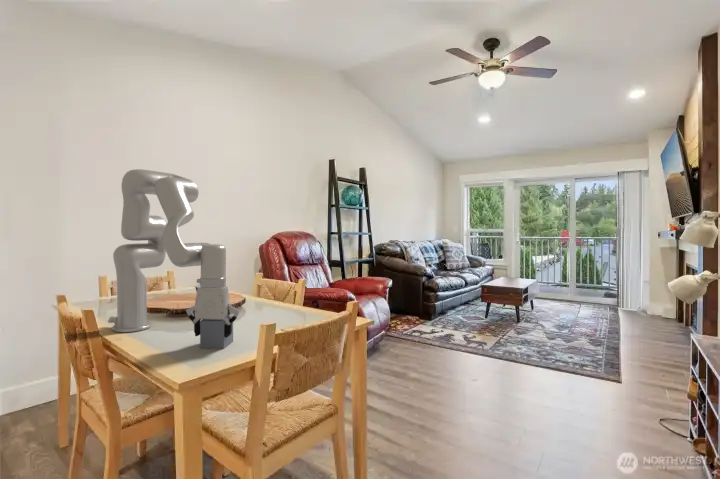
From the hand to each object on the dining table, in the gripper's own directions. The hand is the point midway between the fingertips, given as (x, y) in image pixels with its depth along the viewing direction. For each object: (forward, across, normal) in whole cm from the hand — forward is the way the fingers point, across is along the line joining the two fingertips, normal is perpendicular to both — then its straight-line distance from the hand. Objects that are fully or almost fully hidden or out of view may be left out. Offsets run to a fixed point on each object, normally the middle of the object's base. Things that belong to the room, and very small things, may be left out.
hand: (213, 335), depth 123 cm
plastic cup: (+4, -24, +48) cm, 54 cm away
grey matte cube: (+4, +1, +2) cm, 4 cm away
